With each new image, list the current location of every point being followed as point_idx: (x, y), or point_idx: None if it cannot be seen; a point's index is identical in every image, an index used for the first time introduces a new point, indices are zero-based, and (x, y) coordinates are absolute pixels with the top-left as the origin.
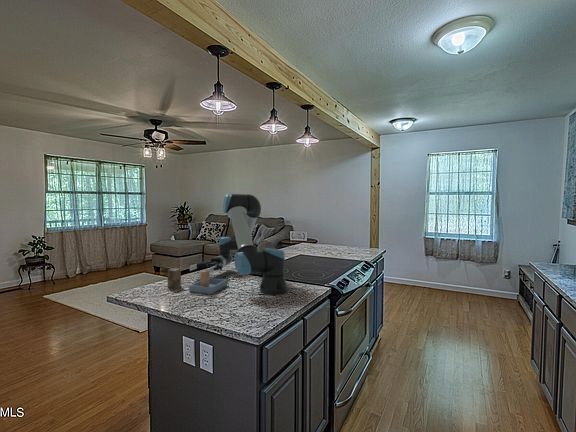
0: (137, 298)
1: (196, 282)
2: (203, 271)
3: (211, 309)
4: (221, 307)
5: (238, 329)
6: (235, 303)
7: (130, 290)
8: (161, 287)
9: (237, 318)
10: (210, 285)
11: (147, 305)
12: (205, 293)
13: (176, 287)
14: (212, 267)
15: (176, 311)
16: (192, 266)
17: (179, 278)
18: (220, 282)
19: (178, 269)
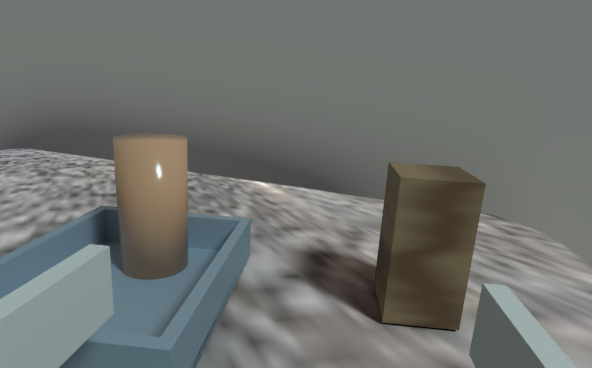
0: None
1: (226, 247)
2: (160, 136)
3: (112, 183)
4: (75, 188)
5: (55, 154)
6: (6, 201)
7: (573, 258)
8: None
9: (41, 166)
10: (112, 329)
11: (327, 193)
12: None
13: (375, 286)
14: (53, 267)
15: (217, 180)
16: (503, 331)
17: (387, 248)
18: (16, 255)
19: (398, 171)
